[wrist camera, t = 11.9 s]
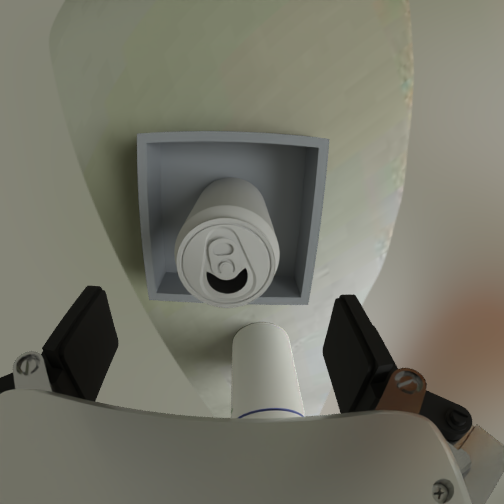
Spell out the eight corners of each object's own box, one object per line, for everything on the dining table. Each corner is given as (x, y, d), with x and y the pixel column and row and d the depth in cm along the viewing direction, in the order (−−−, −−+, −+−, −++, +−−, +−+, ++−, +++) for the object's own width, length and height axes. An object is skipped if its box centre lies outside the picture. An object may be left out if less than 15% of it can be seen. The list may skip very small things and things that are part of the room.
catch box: (154, 132, 25) (137, 133, 20) (314, 137, 25) (329, 139, 21) (161, 274, 31) (149, 299, 26) (298, 279, 31) (308, 304, 27)
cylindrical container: (300, 334, 35) (348, 533, 12) (270, 370, 37) (291, 549, 14) (249, 313, 33) (263, 541, 10) (222, 353, 35) (215, 548, 12)
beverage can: (202, 243, 28) (182, 317, 17) (193, 179, 26) (159, 219, 15) (267, 237, 28) (284, 309, 17) (262, 172, 26) (279, 206, 15)
